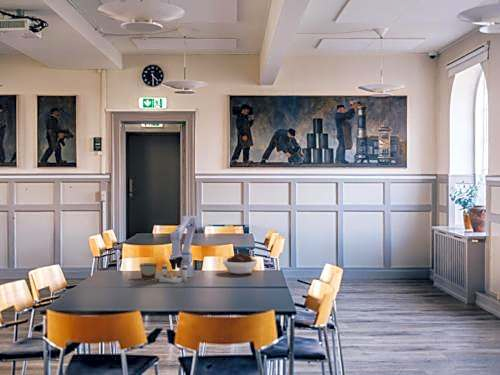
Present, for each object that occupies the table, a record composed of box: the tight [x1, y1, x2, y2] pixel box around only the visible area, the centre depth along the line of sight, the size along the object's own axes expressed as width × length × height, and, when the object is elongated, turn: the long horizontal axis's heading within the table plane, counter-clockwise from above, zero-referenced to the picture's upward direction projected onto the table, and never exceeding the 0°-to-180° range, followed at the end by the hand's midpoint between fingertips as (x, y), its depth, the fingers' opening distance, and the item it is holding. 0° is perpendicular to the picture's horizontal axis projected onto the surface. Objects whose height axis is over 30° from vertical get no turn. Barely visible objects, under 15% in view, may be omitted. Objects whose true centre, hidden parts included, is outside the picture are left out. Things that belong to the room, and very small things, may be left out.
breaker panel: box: [158, 274, 184, 284], centre depth 395 cm, size 7×14×4 cm, turn 72°
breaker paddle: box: [167, 271, 174, 277], centre depth 394 cm, size 2×3×3 cm, turn 72°
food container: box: [139, 262, 158, 280], centre depth 409 cm, size 12×6×10 cm, turn 84°
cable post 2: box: [182, 266, 188, 282], centre depth 398 cm, size 3×3×10 cm
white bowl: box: [222, 252, 258, 275], centre depth 431 cm, size 25×25×15 cm
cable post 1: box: [161, 264, 168, 277], centre depth 403 cm, size 3×3×10 cm
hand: (176, 268), depth 403 cm, fingers open, 7 cm apart
